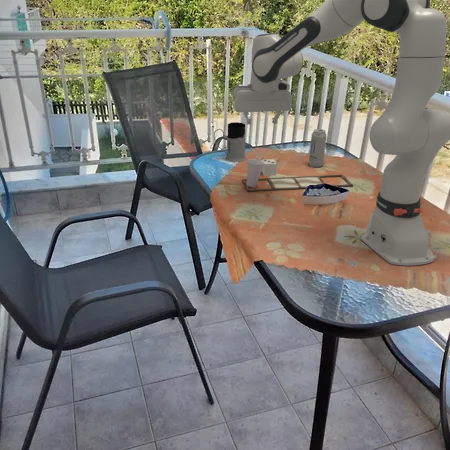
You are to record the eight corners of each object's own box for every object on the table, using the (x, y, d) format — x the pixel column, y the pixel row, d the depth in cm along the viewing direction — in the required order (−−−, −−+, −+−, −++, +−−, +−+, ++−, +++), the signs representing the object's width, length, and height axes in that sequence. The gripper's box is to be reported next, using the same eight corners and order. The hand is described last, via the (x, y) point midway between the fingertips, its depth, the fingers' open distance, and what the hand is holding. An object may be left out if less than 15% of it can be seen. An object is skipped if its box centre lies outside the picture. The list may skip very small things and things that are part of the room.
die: (275, 175, 187) (276, 163, 185) (263, 175, 187) (264, 163, 184) (272, 170, 192) (273, 158, 189) (260, 171, 191) (261, 159, 189)
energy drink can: (305, 164, 199) (309, 129, 192) (317, 162, 201) (321, 127, 194) (313, 168, 194) (317, 133, 187) (325, 166, 196) (330, 131, 189)
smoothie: (259, 190, 174) (266, 154, 168) (242, 187, 174) (249, 151, 168) (259, 183, 180) (266, 149, 174) (243, 180, 180) (250, 146, 174)
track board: (353, 186, 178) (353, 185, 178) (247, 192, 172) (247, 190, 172) (342, 175, 187) (342, 174, 187) (242, 180, 182) (242, 179, 182)
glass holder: (248, 161, 201) (249, 127, 194) (216, 163, 198) (216, 129, 191) (242, 154, 208) (243, 121, 201) (211, 157, 205) (211, 123, 198)
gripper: (235, 86, 156) (234, 127, 162) (294, 85, 159) (291, 125, 165) (232, 82, 161) (231, 122, 168) (289, 81, 164) (286, 120, 171)
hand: (261, 123), depth 166 cm, fingers open, 8 cm apart
